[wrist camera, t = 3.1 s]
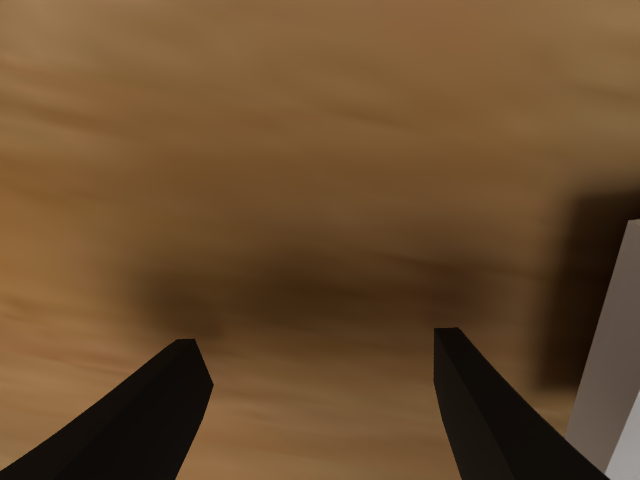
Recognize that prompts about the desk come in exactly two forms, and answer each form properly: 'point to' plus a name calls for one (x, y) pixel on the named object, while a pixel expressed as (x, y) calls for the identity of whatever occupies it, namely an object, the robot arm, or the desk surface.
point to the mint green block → (613, 374)
